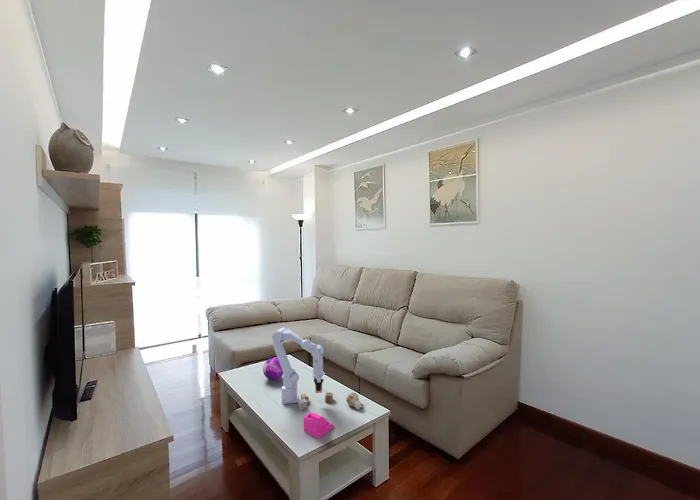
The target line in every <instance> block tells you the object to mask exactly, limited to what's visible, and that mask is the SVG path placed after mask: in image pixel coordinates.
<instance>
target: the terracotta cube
mask: <svg viewBox="0 0 700 500" xmlns="http://www.w3.org/2000/svg"><path fill="white" fill-rule="evenodd" d="M314 392H315V393H314V394H321V393H323V385H322V386H321V391H317V389H316V385H315V384H314Z"/></svg>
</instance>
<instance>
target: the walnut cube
mask: <svg viewBox="0 0 700 500" xmlns="http://www.w3.org/2000/svg"><path fill="white" fill-rule="evenodd" d="M333 399H334V393H333V392H325V395H324V400H325V401H324V403H333Z"/></svg>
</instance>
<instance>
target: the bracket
mask: <svg viewBox="0 0 700 500" xmlns="http://www.w3.org/2000/svg"><path fill="white" fill-rule="evenodd" d="M334 427H335V425H334V424H333V423H332V422H330V421H328V420H327V418H325V417H323V415H321V414H318V413H315V412H314V413H313V412H312V411H311V412H309V413H307V414H306V415H304V416H303V432H305V433H307V434H308V435H311V436H312V437H315V438H317V439H320V438H321V437H323V436H324V435H325V434H327V433H328V432H329V431H330V430H332V429H333V428H334Z"/></svg>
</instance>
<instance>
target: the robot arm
mask: <svg viewBox="0 0 700 500" xmlns="http://www.w3.org/2000/svg"><path fill="white" fill-rule="evenodd" d="M271 338H272V346H273V350H274V351H275V352H274V353H275V354H276V357H277V358H278V360H279V363H280V365H281V368H282V370H283V376H282V377H281V378H282V385H283V386H281V404H282V405H286V404H298V400H299V395H298V382H299V380H300V376H299V374H298V373H297V372H296V370H295V369H294V368H292V366H291V363H290V361H289V359H288V356H287V353H286V350H285V348H284V345H283V344H284V341H288V340H290V341H292V342H294V343H296V344H298V345H300V346H301V349H303V350H305V351H306V352H308V353H309V354H310V355H311V357H312V369H313V370H312V377H313V382H314V386H315V385H316V389H317V391H321V386H322V387H323V383H324V378H323V376H325V375H326V373H325V372H324V364H323V363H324V359H323V357H324V356H323V355H324V354H323V353H324V352H325V348H324V346H323V345H321V344H317V343H314V342H312V341H311V339H309V338H308V339H307V338H305V339H303V338H302V337H300V336H299V335H298V334H296V333H295V332H293V331H292V330H291V329H290V328H288V327H286V326H283V327H281V328H279V329H278V330H275V331H274V332H273V334H272V336H271Z"/></svg>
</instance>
